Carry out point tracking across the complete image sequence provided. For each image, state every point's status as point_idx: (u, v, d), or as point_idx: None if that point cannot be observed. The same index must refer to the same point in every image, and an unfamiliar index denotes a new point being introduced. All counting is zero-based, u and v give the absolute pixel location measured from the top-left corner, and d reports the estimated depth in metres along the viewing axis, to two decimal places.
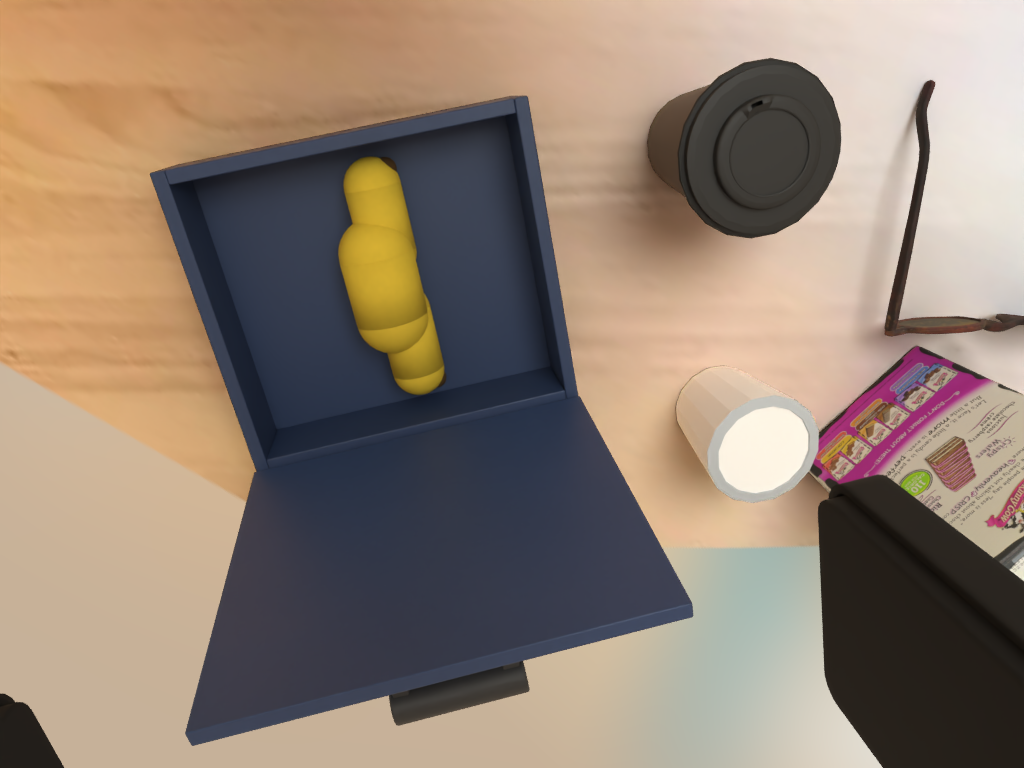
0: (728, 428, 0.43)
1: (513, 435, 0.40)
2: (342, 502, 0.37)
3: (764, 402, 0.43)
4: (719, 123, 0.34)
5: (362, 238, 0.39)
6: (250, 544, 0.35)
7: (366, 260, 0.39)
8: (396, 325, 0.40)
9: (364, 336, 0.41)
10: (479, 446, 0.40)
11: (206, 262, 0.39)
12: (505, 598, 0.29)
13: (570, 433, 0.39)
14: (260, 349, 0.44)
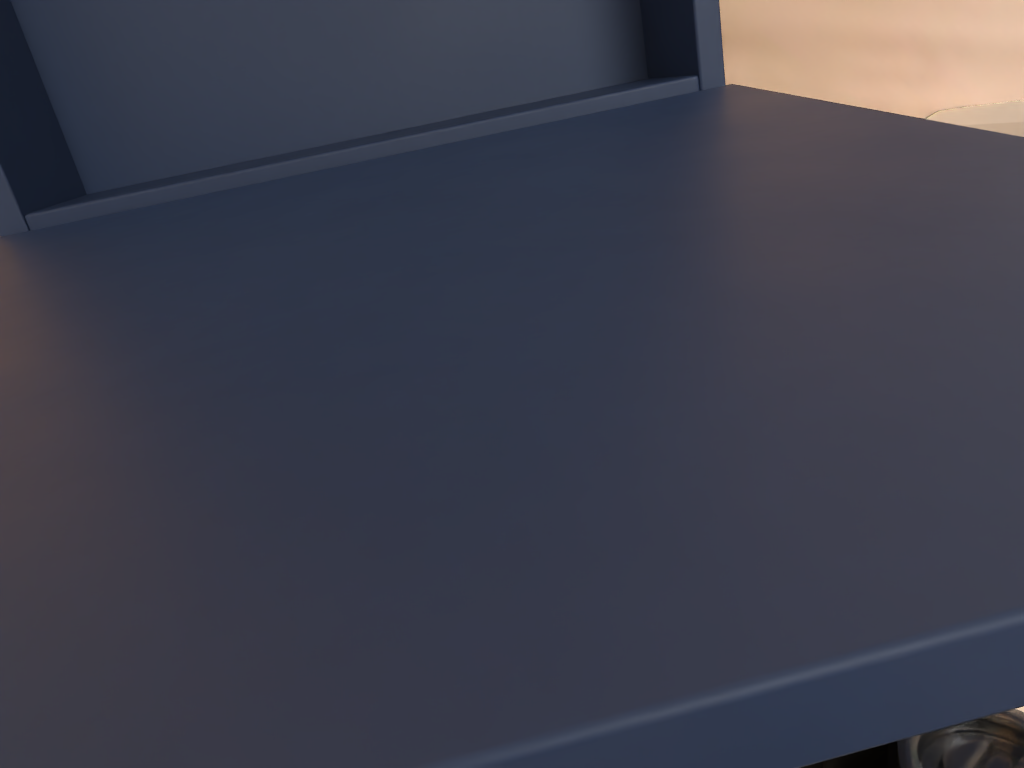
0: None
1: (597, 131, 0.16)
2: (150, 250, 0.14)
3: None
4: None
5: None
6: None
7: None
8: None
9: None
10: (515, 150, 0.16)
11: None
12: (711, 391, 0.06)
13: (743, 110, 0.16)
14: (34, 0, 0.20)
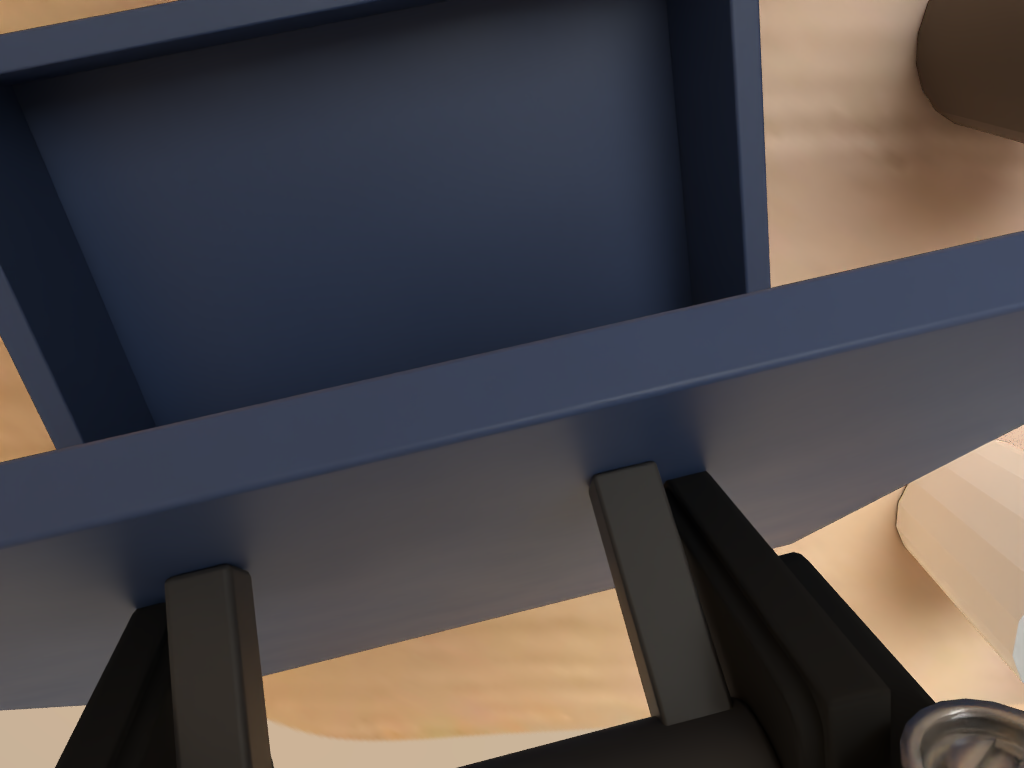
0: None
1: None
2: None
3: None
4: None
5: None
6: None
7: None
8: None
9: None
10: None
11: (39, 268, 0.18)
12: None
13: None
14: None
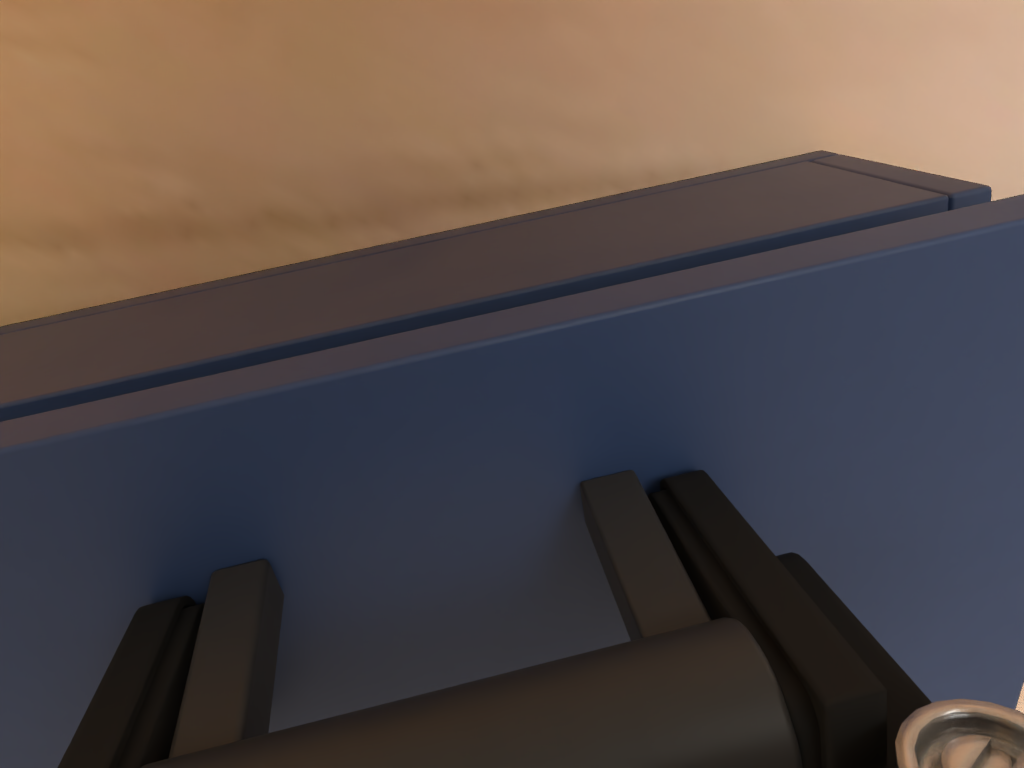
0: None
1: None
2: None
3: None
4: None
5: None
6: None
7: None
8: None
9: None
10: None
11: None
12: None
13: None
14: None
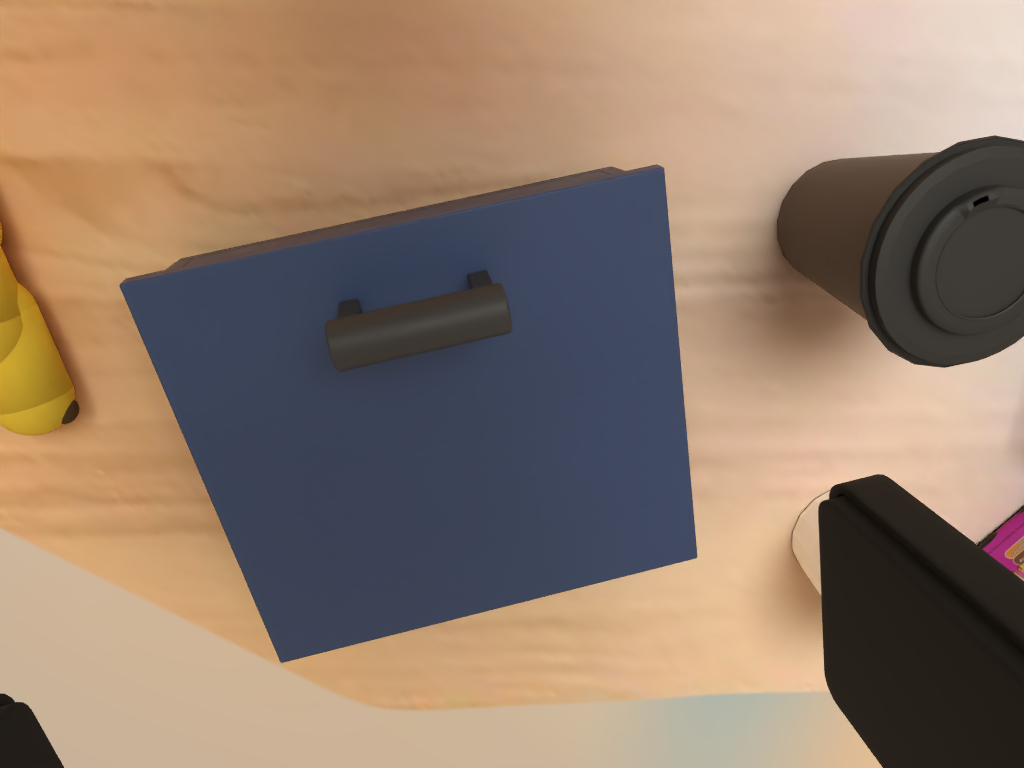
0: None
1: None
2: None
3: None
4: (923, 224, 0.25)
5: None
6: None
7: None
8: None
9: None
10: None
11: None
12: None
13: None
14: None
